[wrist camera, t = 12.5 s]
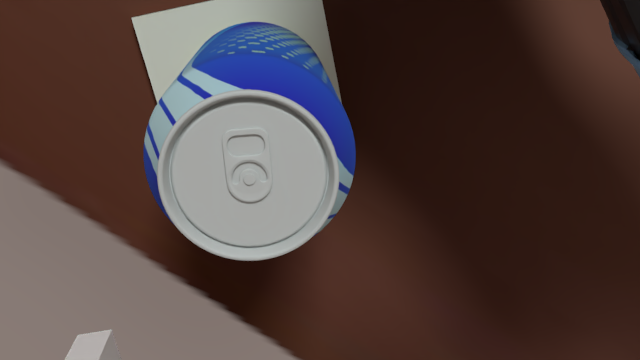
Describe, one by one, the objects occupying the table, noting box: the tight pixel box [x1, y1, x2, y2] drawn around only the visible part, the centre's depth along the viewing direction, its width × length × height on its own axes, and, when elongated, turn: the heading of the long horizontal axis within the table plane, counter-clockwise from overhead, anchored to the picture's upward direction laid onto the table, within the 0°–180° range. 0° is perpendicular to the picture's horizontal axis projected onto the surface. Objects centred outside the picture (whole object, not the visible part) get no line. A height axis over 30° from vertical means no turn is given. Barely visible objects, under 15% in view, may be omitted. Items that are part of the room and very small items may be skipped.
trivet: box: [131, 0, 342, 104], centre depth 37 cm, size 11×11×1 cm
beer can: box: [144, 22, 356, 261], centre depth 29 cm, size 8×8×16 cm
